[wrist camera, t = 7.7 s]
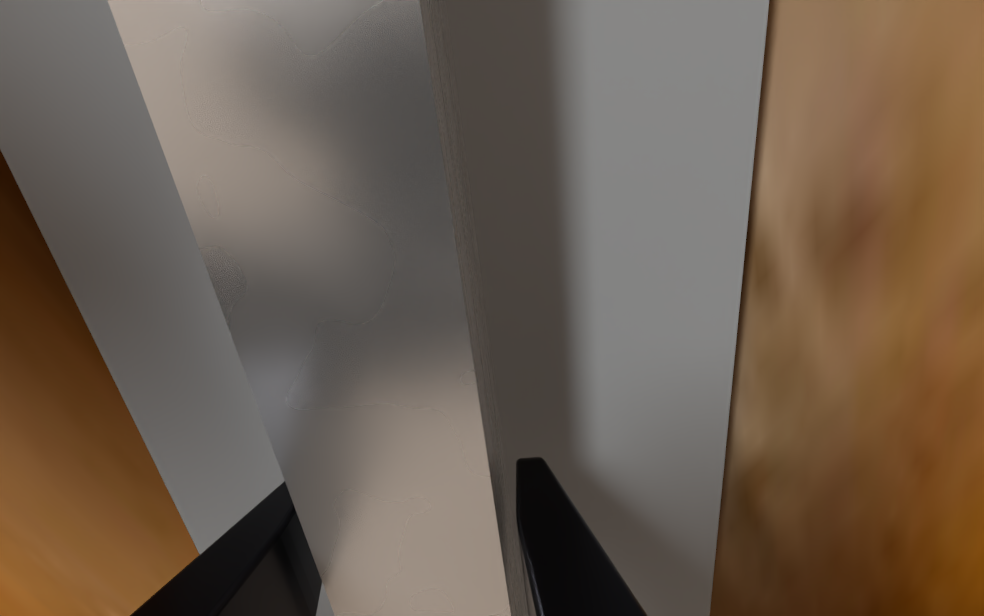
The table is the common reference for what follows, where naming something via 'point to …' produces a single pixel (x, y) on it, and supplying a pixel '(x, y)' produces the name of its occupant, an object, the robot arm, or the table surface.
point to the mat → (501, 249)
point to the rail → (346, 279)
